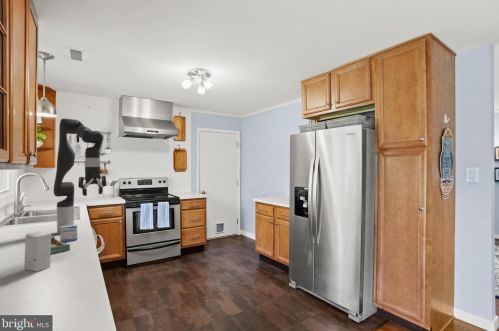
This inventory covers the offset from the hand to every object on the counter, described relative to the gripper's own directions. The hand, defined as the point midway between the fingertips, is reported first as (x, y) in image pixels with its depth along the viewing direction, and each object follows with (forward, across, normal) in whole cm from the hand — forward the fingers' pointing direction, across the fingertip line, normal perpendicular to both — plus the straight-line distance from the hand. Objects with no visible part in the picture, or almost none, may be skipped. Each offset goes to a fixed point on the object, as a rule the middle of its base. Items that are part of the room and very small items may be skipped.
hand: (92, 194), depth 149 cm
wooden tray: (+28, +16, -11) cm, 34 cm away
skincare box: (+27, +32, +16) cm, 45 cm away
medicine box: (+28, +3, -19) cm, 34 cm away
